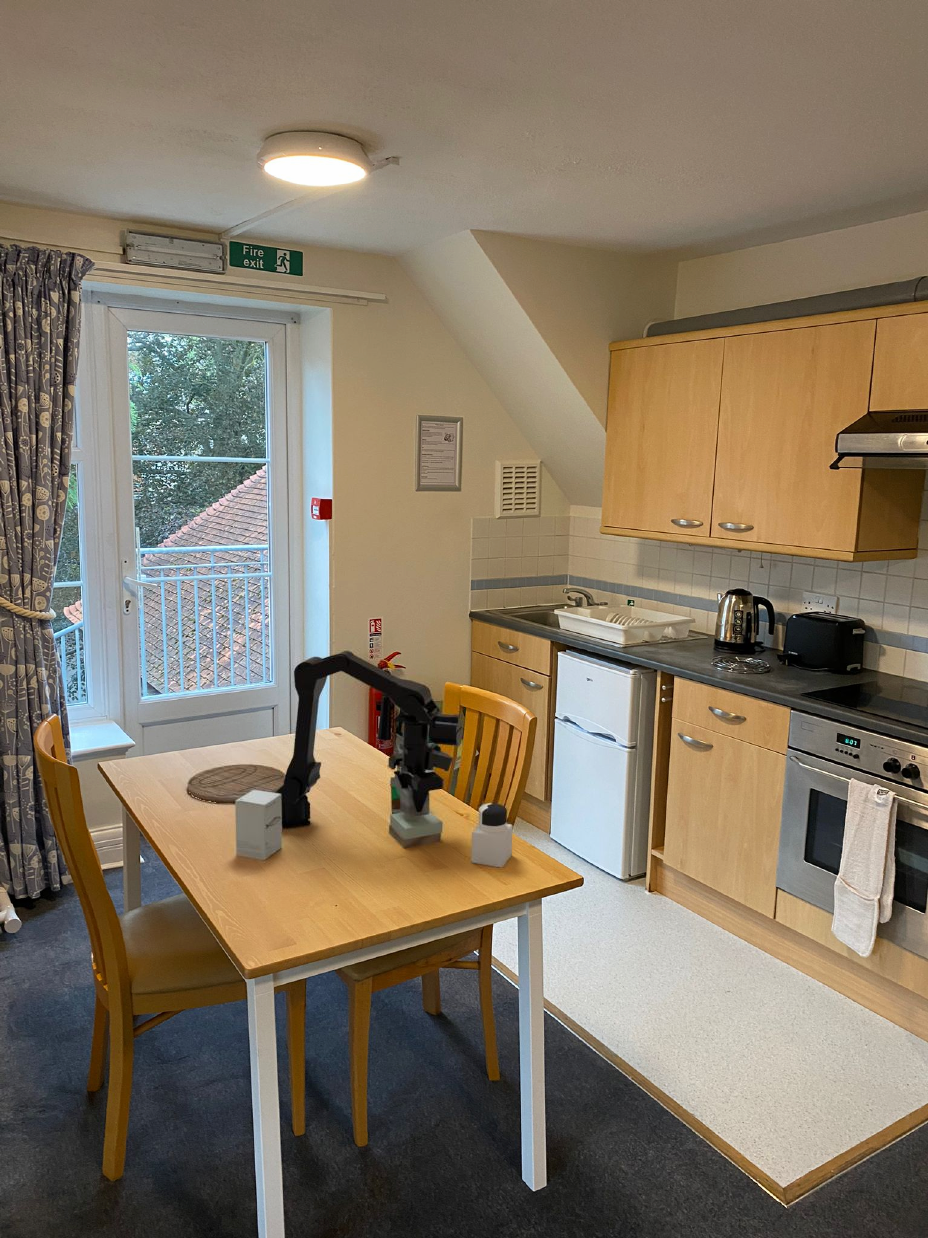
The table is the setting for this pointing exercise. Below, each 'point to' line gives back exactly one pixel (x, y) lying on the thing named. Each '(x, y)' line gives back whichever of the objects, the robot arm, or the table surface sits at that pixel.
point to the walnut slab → (414, 839)
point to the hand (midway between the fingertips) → (414, 807)
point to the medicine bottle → (492, 836)
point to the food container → (395, 795)
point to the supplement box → (258, 824)
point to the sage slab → (416, 825)
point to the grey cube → (411, 804)
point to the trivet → (234, 782)
